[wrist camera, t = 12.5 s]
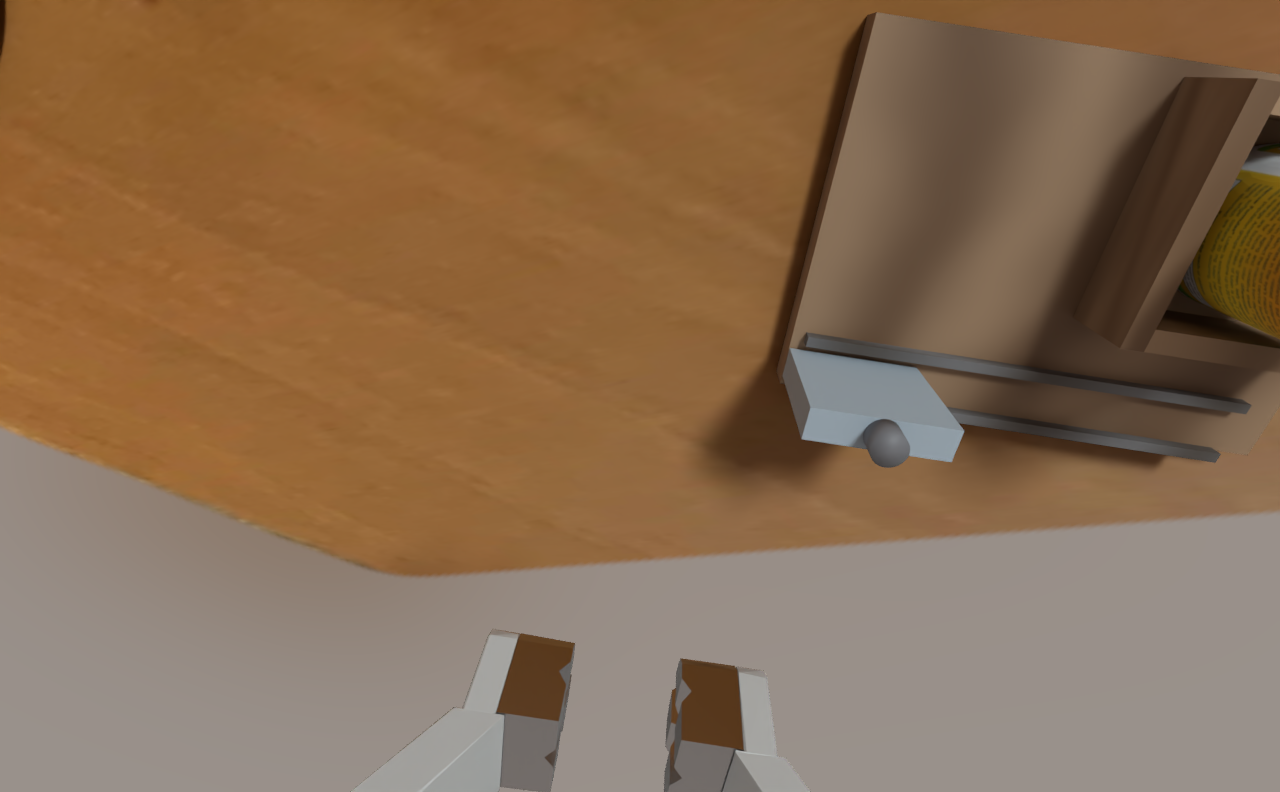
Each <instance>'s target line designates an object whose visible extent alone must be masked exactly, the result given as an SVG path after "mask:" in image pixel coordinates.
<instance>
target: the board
mask: <svg viewBox="0 0 1280 792" xmlns="http://www.w3.org/2000/svg"><path fill="white" fill-rule="evenodd" d="M1272 143H1280V74H1273V73H1267V72H1260V71H1254V70H1247V69H1241V68H1234V67H1228V66H1221V65H1215V64H1208V63H1202V62H1195V61H1189V60H1182V59H1176V58H1169V57H1163V56H1156V55H1150V54H1143V53H1137V52H1130V51H1124V50H1117V49H1111V48H1104V47H1098V46H1091V45H1085V44H1078V43H1072V42H1065V41H1059V40H1052V39H1046V38H1039V37H1033V36H1026V35H1020V34H1014V33H1007V32H1001V31H994V30H988V29H981V28H975V27H968V26H962V25H955V24H949V23H942V22H936V21H929V20H923V19H916V18H910V17H903V16H897V15H890V14H884V13H877V12H876V13H873V14H870V15H867V19H866V23H865V27H864V31H863V34H862V38H861V42H860V46H859V50H858V54H857V58H856V62H855V66H854V70H853V74H852V77H851V81H850V85H849V89H848V93H847V97H846V101H845V105H844V109H843V113H842V117H841V120H840V124H839V128H838V132H837V136H836V140H835V144H834V148H833V152H832V156H831V159H830V163H829V167H828V171H827V175H826V179H825V183H824V187H823V191H822V195H821V199H820V202H819V206H818V210H817V214H816V218H815V222H814V226H813V230H812V234H811V238H810V242H809V245H808V249H807V253H806V257H805V261H804V265H803V269H802V273H801V277H800V281H799V285H798V288H797V292H796V296H795V300H794V304H793V308H792V312H791V316H790V320H789V324H788V327H787V331H786V335H785V339H784V343H783V347H782V351H781V355H780V359H779V363H778V367H777V370H776V371H777V375H778V379H779V382H780V383H781V384H785V382H784V379H783V376H782V375H783V372H784V368H785V364H786V360H787V356H788V353H789V349H790V348H794V349H800V350H807V351H813V352H820V353H826V354H833V355H839V356H846V357H852V358H859V359H865V360H872V361H878V362H885V363H891V364H898V365H904V366H911V367H917V369H918V370H919V371H920V373H921V374H922V375H923V377H924V378H925V379H926V381H927V382H928V383H929V385H930V386H931V387H932V388H933V390H934V391H935V392H936V394H937V395H938V396H939V398H940V399H941V400H942V402H943V403H944V404H945V406H946V407H947V408H948V410H949V411H950V412H951V414H952V415H953V416H954V418H955V419H956V420H957V422H958V423H961V424H968V425H974V426H981V427H987V428H994V429H1000V430H1007V431H1013V432H1020V433H1026V434H1033V435H1039V436H1046V437H1052V438H1059V439H1065V440H1072V441H1078V442H1085V443H1091V444H1098V445H1104V446H1111V447H1117V448H1124V449H1130V450H1137V451H1143V452H1150V453H1156V454H1163V455H1169V456H1176V457H1182V458H1189V459H1195V460H1202V461H1208V462H1216V461H1217V459H1218V458H1219V456H1220V453H1218V452H1217V451H1222V452H1229V453H1235V454H1242V455H1248V454H1249V452H1250V451H1251V449H1252V447H1253V446H1254V444H1255V443H1256V441H1257V440H1258V438H1259V437H1260V435H1261V434H1262V432H1263V431H1264V429H1265V428H1266V426H1267V425H1268V423H1269V422H1270V420H1271V419H1272V417H1273V416H1274V414H1275V413H1276V411H1277V410H1278V408H1279V407H1280V339H1278V338H1276V337H1274V336H1271V335H1269V334H1267V333H1265V332H1263V331H1261V330H1258V329H1256V328H1254V327H1252V326H1250V325H1247V324H1245V323H1243V322H1241V321H1239V320H1237V319H1234V318H1232V317H1230V316H1227V315H1225V314H1223V313H1221V312H1219V311H1216V310H1214V309H1212V308H1210V307H1207V306H1205V305H1203V304H1200V303H1198V302H1196V301H1195V300H1193V299H1191V298H1189V297H1187V296H1185V295H1183V294H1182V293H1180V292H1179V291H1178V290H1177V289H1178V287H1179V285H1180V283H1181V281H1182V280H1183V278H1184V276H1185V274H1186V272H1187V270H1188V268H1189V266H1190V264H1191V263H1192V261H1193V259H1194V257H1195V255H1196V253H1197V251H1198V249H1199V248H1200V246H1201V244H1202V242H1203V240H1204V238H1205V236H1206V234H1207V232H1208V231H1209V229H1210V227H1211V225H1212V223H1213V221H1214V219H1215V217H1216V215H1217V214H1218V212H1219V210H1220V208H1221V206H1222V204H1223V202H1224V200H1225V199H1226V197H1227V195H1228V193H1229V191H1230V189H1231V187H1232V185H1233V183H1234V182H1235V180H1236V178H1237V176H1238V174H1239V172H1240V170H1241V168H1242V166H1243V165H1244V163H1245V161H1246V159H1247V157H1248V155H1249V153H1250V151H1251V150H1252V148H1253V147H1254V146H1258V145H1264V144H1272Z"/></svg>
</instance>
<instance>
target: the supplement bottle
mask: <svg viewBox="0 0 1280 792" xmlns="http://www.w3.org/2000/svg"><path fill="white" fill-rule="evenodd" d="M1177 290H1178V291H1179V292H1180V293H1182V294H1183V295H1185V296H1187V297H1189V298H1191V299H1193V300H1195V301H1196V302H1198V303H1200V304H1203V305H1205V306H1207V307H1210V308H1212V309H1214V310H1216V311H1219V312H1221V313H1223V314H1225V315H1227V316H1230V317H1232V318H1234V319H1237V320H1239V321H1241V322H1243V323H1245V324H1247V325H1250V326H1252V327H1254V328H1256V329H1258V330H1261V331H1263V332H1265V333H1267V334H1269V335H1271V336H1274V337H1276V338H1278V339H1280V143H1272V144H1264V145H1258V146H1254V147H1253V148H1252V150H1251V151H1250V153H1249V155H1248V157H1247V159H1246V161H1245V163H1244V165H1243V166H1242V168H1241V170H1240V172H1239V174H1238V176H1237V178H1236V180H1235V182H1234V183H1233V185H1232V187H1231V189H1230V191H1229V193H1228V195H1227V197H1226V199H1225V200H1224V202H1223V204H1222V206H1221V208H1220V210H1219V212H1218V214H1217V215H1216V217H1215V219H1214V221H1213V223H1212V225H1211V227H1210V229H1209V231H1208V232H1207V234H1206V236H1205V238H1204V240H1203V242H1202V244H1201V246H1200V248H1199V249H1198V251H1197V253H1196V255H1195V257H1194V259H1193V261H1192V263H1191V264H1190V266H1189V268H1188V270H1187V272H1186V274H1185V276H1184V278H1183V280H1182V281H1181V283H1180V285H1179V287H1178V289H1177Z"/></svg>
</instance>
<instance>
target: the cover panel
mask: <svg viewBox="0 0 1280 792" xmlns="http://www.w3.org/2000/svg"><path fill="white" fill-rule="evenodd" d="M782 376H783V379H784V382H785V386H786V389H787V392H788V396H789V399H790V402H791V406H792V409H793V412H794V416H795V419H796V423H797V426H798V429H799V433H800V436H801V439H804V440H810V441H817V442H823V443H830V444H836V445H842V446H849V447H855V448H862V449H867V450H868V452H869V454H870V456H871V458H872V460H873V461H874V462H875V463H876V464H877V465H879V466H881V467H895V466H898V465H900V464H901V463H903V462H904V461H905V460H906V459H907V458H908V456H914V457H920V458H927V459H933V460H940V461H946V462H952V460H953V457H954V455H955V453H956V450H957V448H958V445H959V443H960V441H961V438H962V436H963V433H964V430H963V428H962V427H961V426H960V424H959V423H958V422H957V420H956V419H955V418H954V416H953V415H952V414H951V412H950V411H949V410H948V408H947V407H946V406H945V404H944V403H943V402H942V400H941V399H940V398H939V396H938V395H937V394H936V392H935V391H934V390H933V388H932V387H931V386H930V385H929V383H928V382H927V381H926V379H925V378H924V377H923V375H922V374H921V373H920V371H919V370H918V369H917V367H911V366H904V365H898V364H891V363H885V362H878V361H872V360H865V359H859V358H852V357H846V356H839V355H833V354H826V353H820V352H813V351H807V350H800V349H794V348H790V349H789V353H788V356H787V360H786V364H785V368H784V372H783V375H782Z"/></svg>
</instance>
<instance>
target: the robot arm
mask: <svg viewBox="0 0 1280 792" xmlns="http://www.w3.org/2000/svg"><path fill="white" fill-rule="evenodd" d="M574 650H575V643H571V642H565V641H560V640H554V639H549V638H543V637H538V636H532V635H526V634H519V633H514V632H507V631H501V630H496V629H492V631H491V632H490V634H489V635H488V637H487V640H486V643H485V646H484V649H483V652H482V654H481V657H480V660H479V663H478V666H477V668H476V671H475V674H474V677H473V680H472V682H471V685H470V688H469V691H468V694H467V696H466V699H465V702H464V705H463V708H456V707H453V708H452V709H451V710H450V711H449V712H447V713H446V714H445V715H444V716H442V717H441V718H440V719H439V720H438V721H436V722H435V723H434V724H433V725H432V726H430V727H429V728H428V729H427V730H425V731H424V732H423V733H422V734H420V735H419V736H418V737H417V738H416V739H414V740H413V741H412V742H411V743H409V744H408V745H407V746H406V747H404V748H403V749H402V750H401V751H400V752H398V753H397V754H396V755H395V756H393V757H392V758H391V759H390V760H389V761H387V762H386V763H385V764H384V765H382V766H381V767H380V768H379V769H377V770H376V771H375V772H374V773H373V774H371V775H370V776H369V777H368V778H366V779H365V780H364V781H363V782H362V783H360V784H359V785H358V786H357V787H356V788H354V789H353V790H352V791H350V792H499V790H500V787H506V788H515V789H523V790H530V791H539V792H550V791H551V785H552V781H553V776H554V771H555V765H556V761H557V756H558V748H559V741H560V734H561V731H562V729H563V724H564V719H565V713H566V707H567V702H568V696H569V689H570V682H571V669H572V664H573V658H574ZM666 748H667V750H668V751H669V755H668V759H667V764H666V768H665V777H664V779H665V780H664V792H811V791H810V790H809V789H808V787H807V786H806V784H805V783H804V782H803V781H802V779H801V778H800V777H799V775H798V774H797V772H796V771H795V770H794V768H793V767H792V766H791V764H790V763H789V761H788V760H787V759H786V758H783V757H778V756H777V750H776V742H775V735H774V726H773V719H772V711H771V704H770V696H769V688H768V681H767V675H766V674H765V672H764V671H762V670H755V669H749V668H741V667H735V666H731V665H724V664H716V663H709V662H702V661H695V660H688V659H680V661H679V664H678V668H677V672H676V688H675V689H674V690H672V694H671V699H670V704H669V711H668V717H667V728H666Z"/></svg>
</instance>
